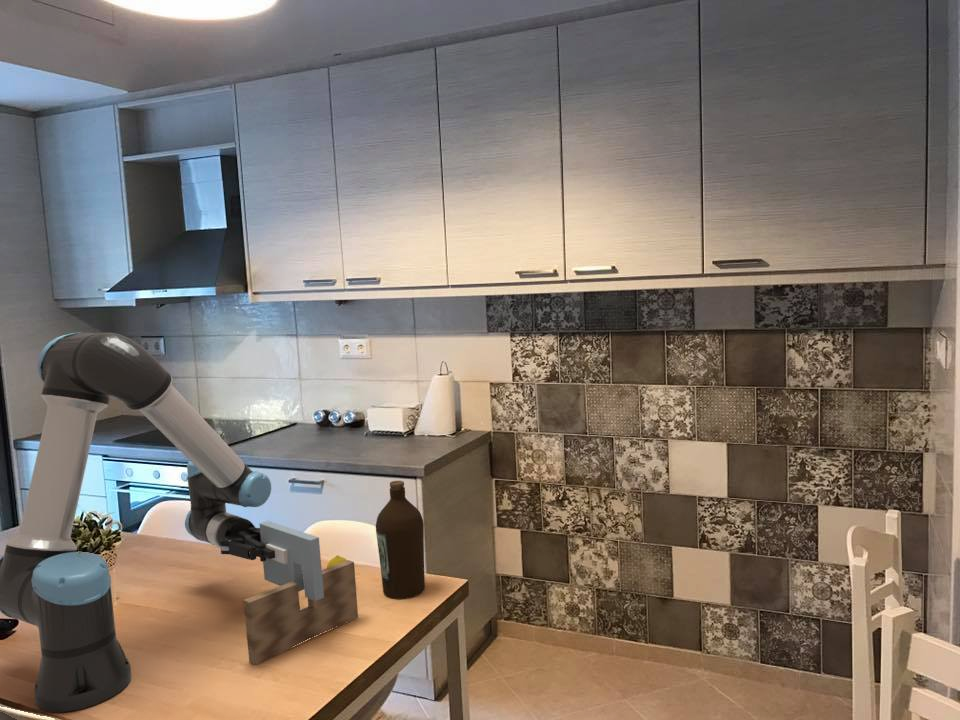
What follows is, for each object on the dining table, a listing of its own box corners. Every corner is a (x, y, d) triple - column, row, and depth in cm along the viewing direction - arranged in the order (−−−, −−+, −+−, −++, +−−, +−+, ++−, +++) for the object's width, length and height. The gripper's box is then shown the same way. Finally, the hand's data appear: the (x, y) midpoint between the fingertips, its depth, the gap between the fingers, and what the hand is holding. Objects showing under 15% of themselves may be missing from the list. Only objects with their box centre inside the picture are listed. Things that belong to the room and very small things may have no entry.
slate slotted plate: (264, 579, 154) (259, 523, 153) (273, 576, 155) (268, 520, 154) (315, 601, 142) (310, 540, 140) (324, 597, 143) (318, 537, 142)
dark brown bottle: (421, 578, 173) (415, 473, 171) (432, 595, 163) (425, 484, 161) (376, 586, 170) (369, 479, 168) (384, 604, 160) (376, 491, 158)
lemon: (340, 596, 166) (338, 561, 165) (322, 591, 169) (319, 558, 168) (357, 587, 170) (354, 553, 170) (339, 583, 173) (336, 549, 173)
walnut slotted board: (254, 665, 137) (249, 602, 136) (249, 661, 138) (243, 600, 137) (358, 617, 154) (354, 562, 153) (352, 615, 156) (348, 560, 154)
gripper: (263, 539, 169) (324, 561, 153) (200, 560, 158) (259, 586, 142) (260, 507, 168) (321, 526, 152) (197, 526, 157) (256, 548, 141)
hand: (291, 555), depth 147 cm, fingers closed on slate slotted plate, 2 cm apart
